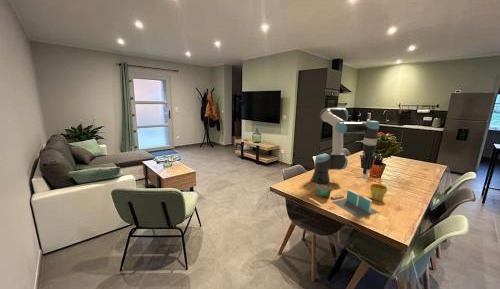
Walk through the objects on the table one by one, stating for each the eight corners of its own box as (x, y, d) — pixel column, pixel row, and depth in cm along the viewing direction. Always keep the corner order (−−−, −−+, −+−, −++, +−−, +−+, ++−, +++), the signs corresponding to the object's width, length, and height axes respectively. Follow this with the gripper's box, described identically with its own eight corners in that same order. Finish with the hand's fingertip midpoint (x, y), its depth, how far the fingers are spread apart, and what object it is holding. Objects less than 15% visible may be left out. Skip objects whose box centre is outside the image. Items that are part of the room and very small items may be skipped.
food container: (311, 196, 153) (312, 183, 151) (315, 194, 157) (316, 181, 155) (327, 202, 145) (328, 189, 143) (331, 199, 149) (332, 186, 147)
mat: (331, 203, 143) (331, 201, 143) (350, 199, 150) (350, 197, 150) (359, 220, 124) (359, 218, 123) (379, 214, 131) (379, 212, 131)
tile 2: (357, 206, 137) (358, 195, 136) (359, 206, 138) (360, 195, 136) (368, 212, 130) (369, 200, 128) (370, 212, 131) (372, 200, 129)
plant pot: (370, 194, 159) (372, 182, 157) (386, 198, 153) (388, 186, 150) (367, 199, 151) (369, 186, 149) (384, 203, 145) (386, 190, 143)
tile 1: (346, 200, 145) (347, 190, 144) (348, 200, 146) (349, 189, 144) (355, 206, 138) (357, 194, 136) (358, 205, 139) (359, 194, 137)
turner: (334, 202, 145) (335, 199, 145) (328, 198, 151) (328, 195, 150) (353, 198, 153) (353, 195, 152) (346, 194, 158) (347, 191, 157)
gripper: (368, 146, 131) (363, 181, 136) (381, 144, 137) (376, 178, 141) (357, 143, 138) (353, 177, 143) (371, 142, 143) (366, 175, 148)
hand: (364, 178), depth 142 cm, fingers closed
